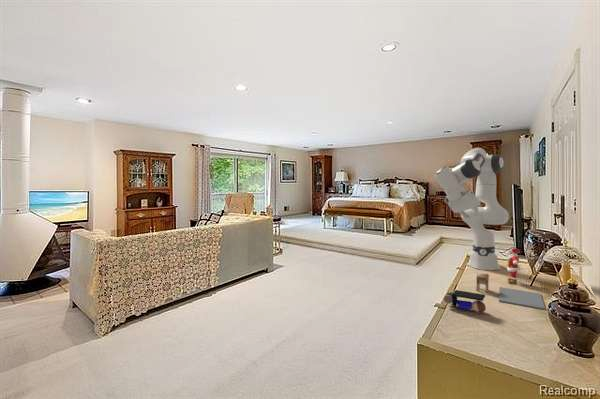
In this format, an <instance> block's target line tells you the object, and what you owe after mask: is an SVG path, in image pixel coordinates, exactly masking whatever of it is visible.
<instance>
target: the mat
mask: <svg viewBox="0 0 600 399" xmlns="http://www.w3.org/2000/svg"><path fill="white" fill-rule="evenodd" d="M498 294H499V295H498V302H499V303H506V304H510V305H515V306H522V307H527V308H532V309H537V310H544V311H546V308H545V305H544V304H545V303H544V301H543V298H542V295H541V293H540V292H535V291H534V292H533V291H526V290H522V289H521V290H520V289H514V288H507V287H503V286H499V293H498Z"/></svg>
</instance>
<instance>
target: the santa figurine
mask: <svg viewBox="0 0 600 399" xmlns="http://www.w3.org/2000/svg"><path fill="white" fill-rule="evenodd" d="M520 253H521V251H520V250H519V249H518V248H515V247H514V248H511V249H509V252H508V256H507V265H506V266H507V267H506V269H507V272H509V275H510V276H511V277H508V278H507V280H508V281H507V283H508V284H510V285H518V283H517V280H518V275H517V273H518V272H520V271H521V266H519V261H520V257H519V256H518V254H520Z"/></svg>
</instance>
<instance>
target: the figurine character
mask: <svg viewBox="0 0 600 399" xmlns="http://www.w3.org/2000/svg"><path fill="white" fill-rule="evenodd" d="M485 297H486V294H483V293H476V292H471V291H463V290H457V289H455V290H454V292H452V291H449V292H447V293H446V295H444V297H443V301H444V302H445V303H446V304H451V305H449V308H456V309H457V308H460V309H467V310H473V311H474V312H475V313H478V314H482V313H484V312H485V311H486V304H485V303H484V299H485ZM458 298H462V299H469V301H468V300H460V299H458ZM470 300H473V302H472V301H470Z"/></svg>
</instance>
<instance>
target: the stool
mask: <svg viewBox="0 0 600 399" xmlns="http://www.w3.org/2000/svg"><path fill="white" fill-rule="evenodd" d="M489 277H490V274H489V273H486V272H480V271H478V272H476V291H477V292H480V290H481V289H480V286H481V285H484V286H485V293H487V294H488V293H489Z"/></svg>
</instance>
